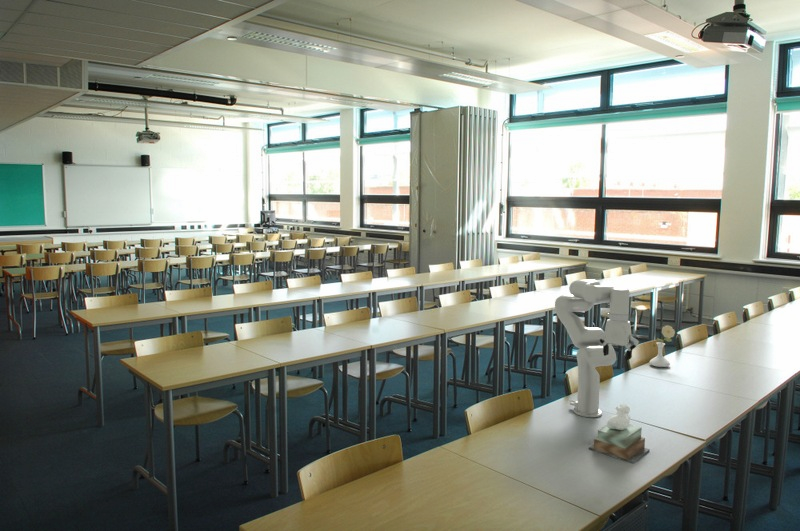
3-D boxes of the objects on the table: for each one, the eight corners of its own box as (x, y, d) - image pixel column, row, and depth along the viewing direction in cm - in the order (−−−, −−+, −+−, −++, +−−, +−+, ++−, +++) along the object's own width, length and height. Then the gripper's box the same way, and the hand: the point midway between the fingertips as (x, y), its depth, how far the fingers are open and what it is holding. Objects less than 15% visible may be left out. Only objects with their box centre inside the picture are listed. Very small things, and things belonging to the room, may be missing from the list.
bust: (609, 437, 226) (626, 420, 220) (597, 421, 231) (613, 404, 224) (628, 430, 233) (645, 414, 226) (616, 414, 238) (632, 398, 231)
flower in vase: (650, 367, 344) (652, 326, 341) (648, 362, 355) (650, 322, 352) (674, 369, 340) (676, 327, 337) (671, 364, 351) (673, 323, 348)
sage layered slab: (588, 449, 231) (589, 427, 230) (605, 438, 242) (606, 417, 241) (633, 463, 219) (634, 440, 218) (649, 451, 230) (650, 429, 229)
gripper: (595, 315, 248) (593, 355, 250) (635, 321, 236) (633, 363, 238) (603, 313, 253) (601, 351, 255) (643, 319, 241) (641, 359, 243)
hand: (617, 357), depth 246 cm, fingers open, 9 cm apart
